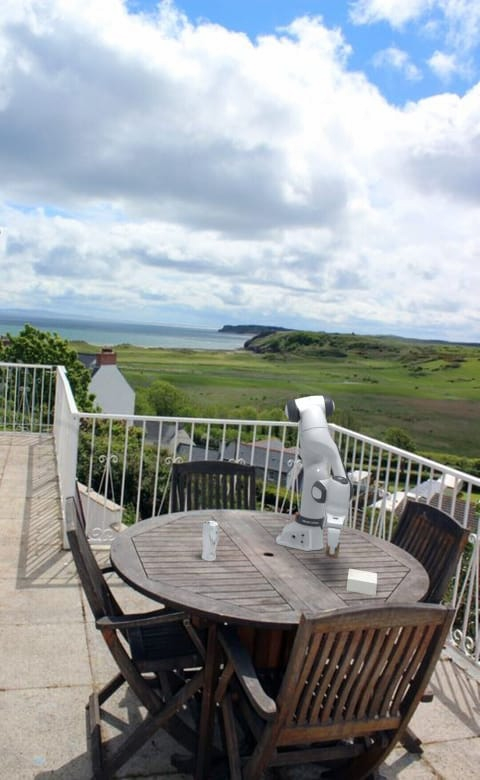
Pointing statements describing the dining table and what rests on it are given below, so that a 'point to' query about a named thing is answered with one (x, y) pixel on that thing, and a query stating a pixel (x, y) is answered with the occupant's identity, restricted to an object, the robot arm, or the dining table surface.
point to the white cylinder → (210, 540)
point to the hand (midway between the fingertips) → (332, 550)
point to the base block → (362, 582)
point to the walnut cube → (334, 551)
